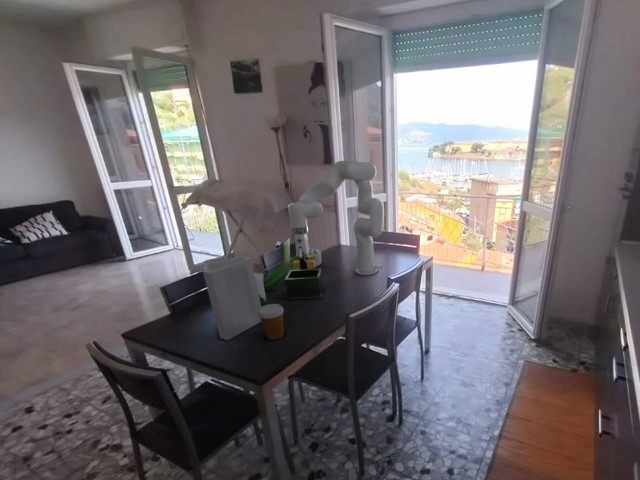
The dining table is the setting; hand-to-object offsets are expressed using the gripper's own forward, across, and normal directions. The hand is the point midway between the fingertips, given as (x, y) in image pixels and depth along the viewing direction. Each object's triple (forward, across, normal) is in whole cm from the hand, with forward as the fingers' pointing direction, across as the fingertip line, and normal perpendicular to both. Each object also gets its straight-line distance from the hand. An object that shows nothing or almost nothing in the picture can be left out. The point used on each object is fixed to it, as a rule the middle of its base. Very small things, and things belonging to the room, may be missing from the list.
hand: (304, 266), depth 173 cm
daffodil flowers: (+15, +19, +13) cm, 27 cm away
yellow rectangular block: (0, 0, 0) cm, 0 cm away
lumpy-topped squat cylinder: (+14, +49, +3) cm, 51 cm away
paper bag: (+15, -30, +27) cm, 43 cm away
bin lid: (-5, 0, +7) cm, 9 cm away
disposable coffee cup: (+15, -41, +8) cm, 44 cm away
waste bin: (+14, 0, +1) cm, 14 cm away
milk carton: (+15, -19, +20) cm, 31 cm away
